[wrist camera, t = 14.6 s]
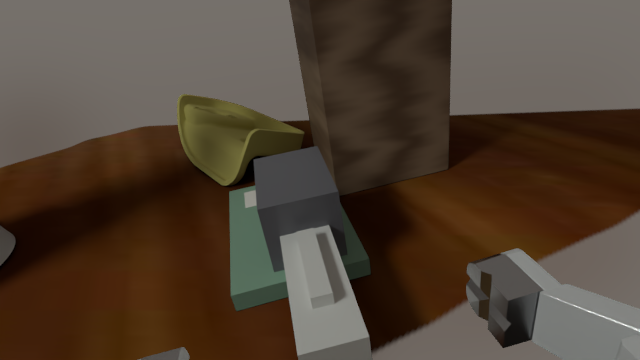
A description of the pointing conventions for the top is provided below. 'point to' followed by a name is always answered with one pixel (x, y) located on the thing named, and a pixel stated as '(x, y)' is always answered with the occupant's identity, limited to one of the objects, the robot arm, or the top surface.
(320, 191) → the plug
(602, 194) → the top surface
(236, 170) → the plastic component
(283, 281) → the board
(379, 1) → the block
